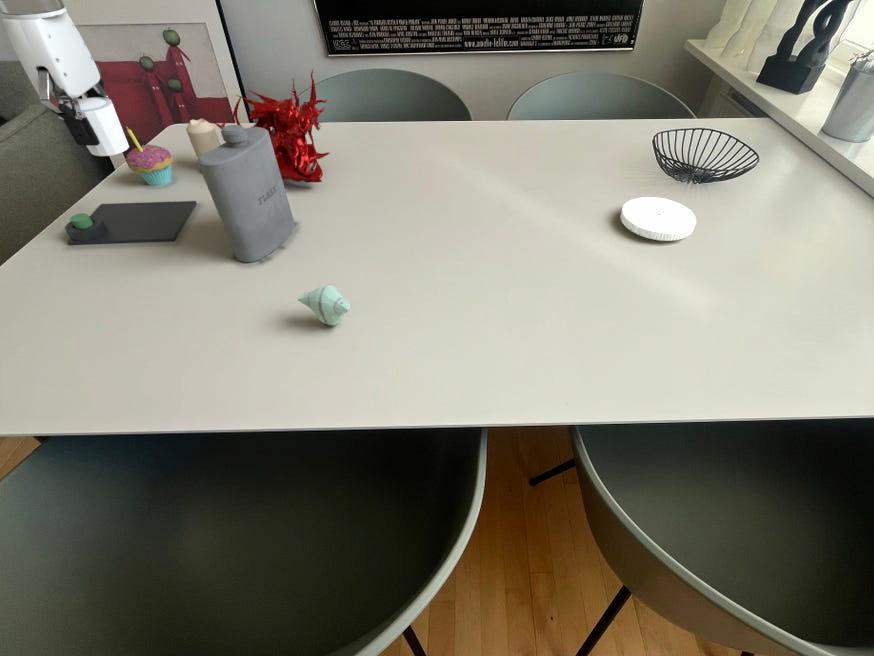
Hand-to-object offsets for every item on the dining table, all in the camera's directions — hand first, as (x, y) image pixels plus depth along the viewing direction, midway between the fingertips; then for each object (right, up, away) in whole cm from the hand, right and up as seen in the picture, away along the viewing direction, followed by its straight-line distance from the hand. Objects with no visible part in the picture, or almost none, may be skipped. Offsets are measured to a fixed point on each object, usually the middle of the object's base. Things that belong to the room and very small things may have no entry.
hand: (99, 134), depth 78 cm
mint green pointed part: (+40, -31, -5) cm, 51 cm away
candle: (+2, +7, +31) cm, 32 cm away
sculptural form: (+20, +7, +32) cm, 38 cm away
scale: (-3, -11, +13) cm, 17 cm away
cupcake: (-7, +2, +26) cm, 27 cm away
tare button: (-9, -13, +8) cm, 18 cm away
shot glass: (0, -2, +2) cm, 3 cm away
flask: (+23, -15, +10) cm, 30 cm away
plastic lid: (+97, -10, +17) cm, 99 cm away
